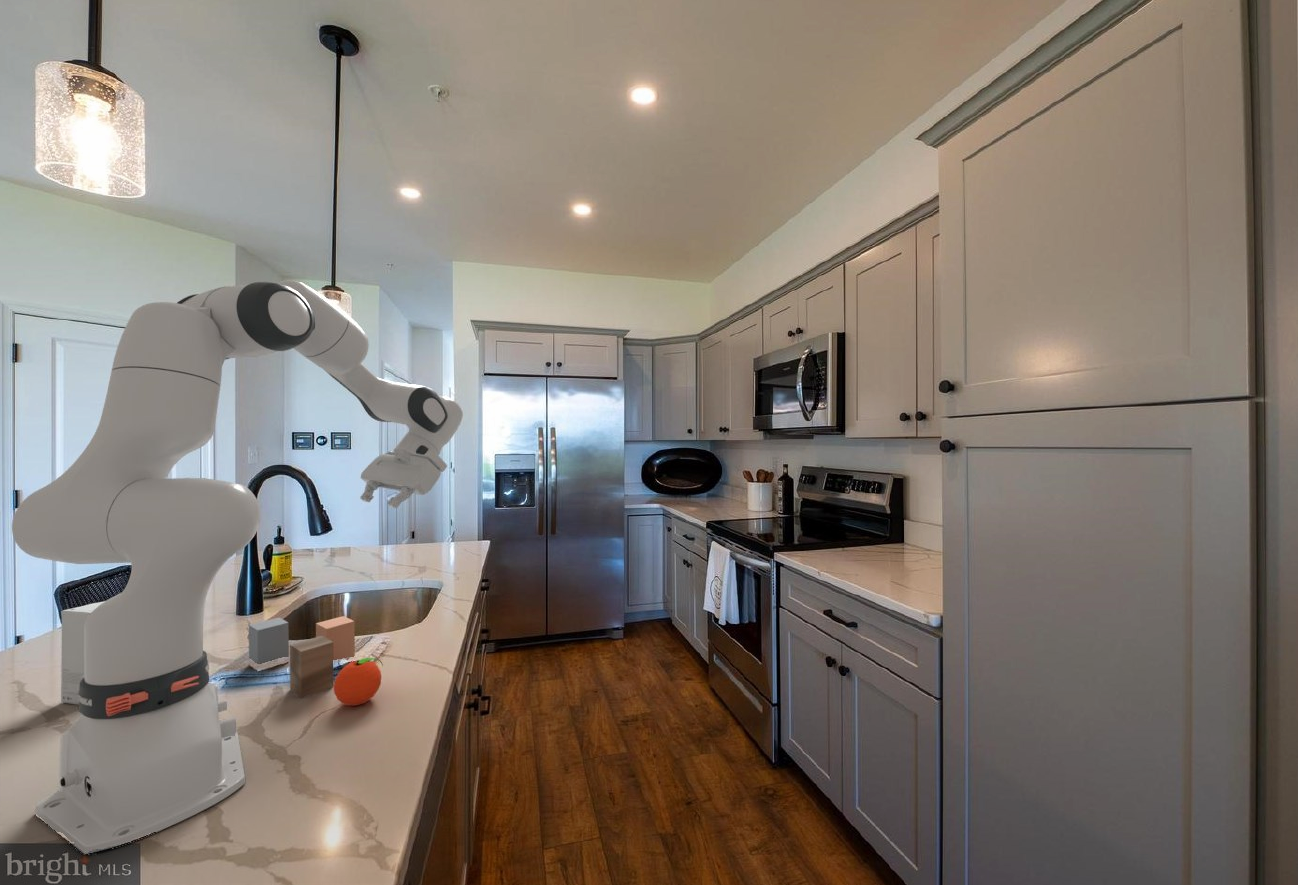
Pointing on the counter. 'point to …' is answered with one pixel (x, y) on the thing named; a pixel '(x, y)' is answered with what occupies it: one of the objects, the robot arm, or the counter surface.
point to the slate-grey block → (268, 640)
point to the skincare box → (73, 650)
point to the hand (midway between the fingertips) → (377, 503)
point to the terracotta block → (339, 636)
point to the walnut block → (311, 666)
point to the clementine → (357, 682)
